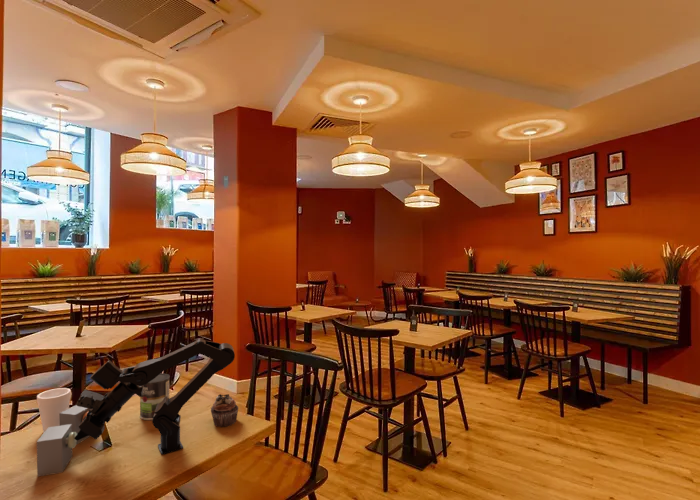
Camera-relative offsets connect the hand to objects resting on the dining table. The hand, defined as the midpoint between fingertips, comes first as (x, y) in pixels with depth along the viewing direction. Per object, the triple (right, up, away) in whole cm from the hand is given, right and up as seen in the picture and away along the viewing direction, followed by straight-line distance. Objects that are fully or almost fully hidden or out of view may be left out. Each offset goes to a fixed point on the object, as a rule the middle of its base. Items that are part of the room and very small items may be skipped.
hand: (75, 439), depth 120 cm
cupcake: (+36, -7, +27) cm, 46 cm away
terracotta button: (-8, -2, +15) cm, 17 cm away
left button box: (-5, -7, -1) cm, 9 cm away
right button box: (-9, -6, +15) cm, 19 cm away
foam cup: (-21, -6, +20) cm, 30 cm away
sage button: (-3, -2, -1) cm, 4 cm away
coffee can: (+8, -6, +33) cm, 34 cm away
